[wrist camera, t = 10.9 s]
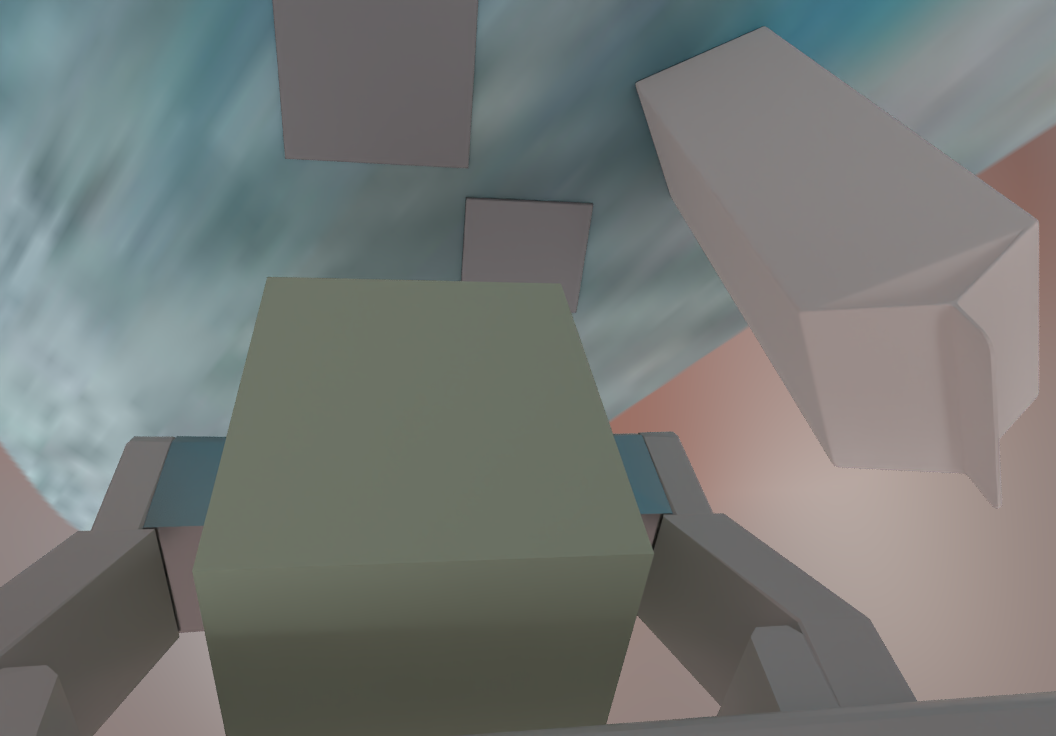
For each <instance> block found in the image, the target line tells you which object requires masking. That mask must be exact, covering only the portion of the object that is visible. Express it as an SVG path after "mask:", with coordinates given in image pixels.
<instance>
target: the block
mask: <svg viewBox="0 0 1056 736" xmlns="http://www.w3.org/2000/svg"><path fill="white" fill-rule="evenodd" d="M653 556H654V552H653V549H652V546H651V543H650V540H649V537H648V534H647V531H646V529H645V526H644V523H643V520H642V517H641V514H640V511H639V508H638V505H637V502H636V500H635V497H634V494H633V491H632V488H631V485H630V482H629V479H628V476H627V473H626V471H625V468H624V465H623V462H622V459H621V456H620V453H619V450H618V447H617V444H616V442H615V439H614V436H613V433H612V430H611V427H610V424H609V421H608V418H607V415H606V413H605V410H604V407H603V404H602V401H601V398H600V395H599V392H598V389H597V386H596V384H595V381H594V378H593V375H592V372H591V369H590V366H589V363H588V360H587V358H586V355H585V352H584V349H583V346H582V343H581V340H580V337H579V334H578V331H577V329H576V326H575V323H574V320H573V317H572V314H571V311H570V308H569V305H568V302H567V300H566V297H565V294H564V291H563V288H562V285H561V284H558V283H513V282H469V281H425V280H381V279H336V278H292V277H267V280H266V284H265V288H264V292H263V296H262V300H261V304H260V308H259V312H258V316H257V319H256V323H255V327H254V331H253V335H252V339H251V343H250V347H249V351H248V355H247V359H246V362H245V366H244V370H243V374H242V378H241V382H240V386H239V390H238V394H237V398H236V402H235V405H234V409H233V413H232V417H231V421H230V425H229V429H228V433H227V437H226V441H225V445H224V449H223V452H222V456H221V460H220V464H219V468H218V472H217V476H216V480H215V484H214V488H213V492H212V495H211V499H210V503H209V507H208V511H207V515H206V519H205V523H204V527H203V531H202V535H201V539H200V542H199V546H198V550H197V554H196V558H195V562H194V566H193V570H192V573H193V577H194V582H195V587H196V592H197V597H198V602H199V607H200V612H201V616H202V621H203V626H204V631H205V636H206V641H207V646H208V651H209V655H210V660H211V665H212V670H213V675H214V680H215V685H216V690H217V695H218V699H219V704H220V709H221V714H222V718H223V724H224V729H225V734H226V736H456V735H470V734H484V733H497V732H511V731H525V730H538V729H552V728H565V727H579V726H592V725H605V724H606V722H607V719H608V716H609V712H610V708H611V704H612V701H613V698H614V694H615V691H616V687H617V683H618V680H619V677H620V673H621V670H622V666H623V662H624V659H625V655H626V652H627V648H628V645H629V641H630V638H631V634H632V631H633V627H634V623H635V620H636V616H637V613H638V609H639V606H640V602H641V599H642V595H643V592H644V588H645V585H646V581H647V577H648V574H649V570H650V567H651V563H652V560H653Z"/></svg>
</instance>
